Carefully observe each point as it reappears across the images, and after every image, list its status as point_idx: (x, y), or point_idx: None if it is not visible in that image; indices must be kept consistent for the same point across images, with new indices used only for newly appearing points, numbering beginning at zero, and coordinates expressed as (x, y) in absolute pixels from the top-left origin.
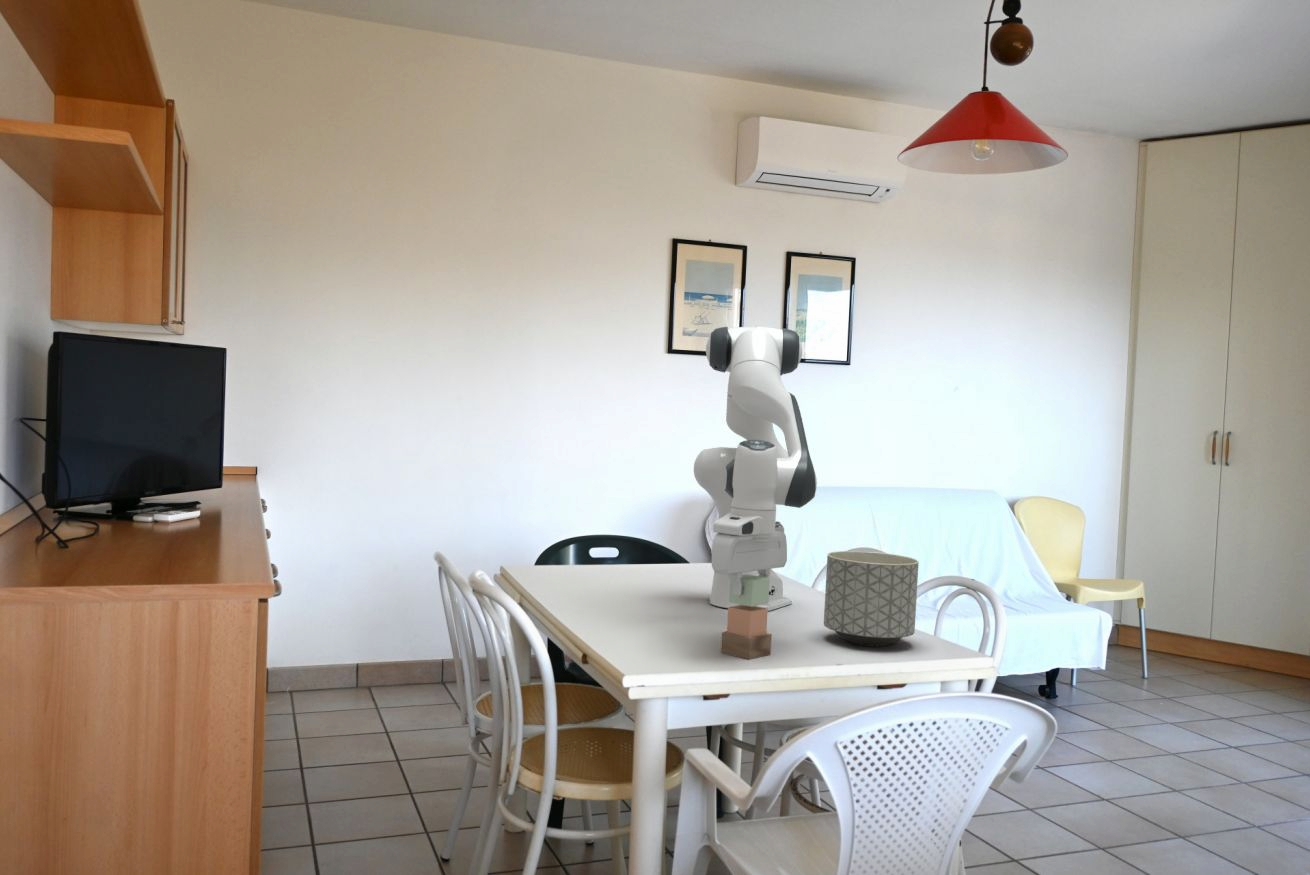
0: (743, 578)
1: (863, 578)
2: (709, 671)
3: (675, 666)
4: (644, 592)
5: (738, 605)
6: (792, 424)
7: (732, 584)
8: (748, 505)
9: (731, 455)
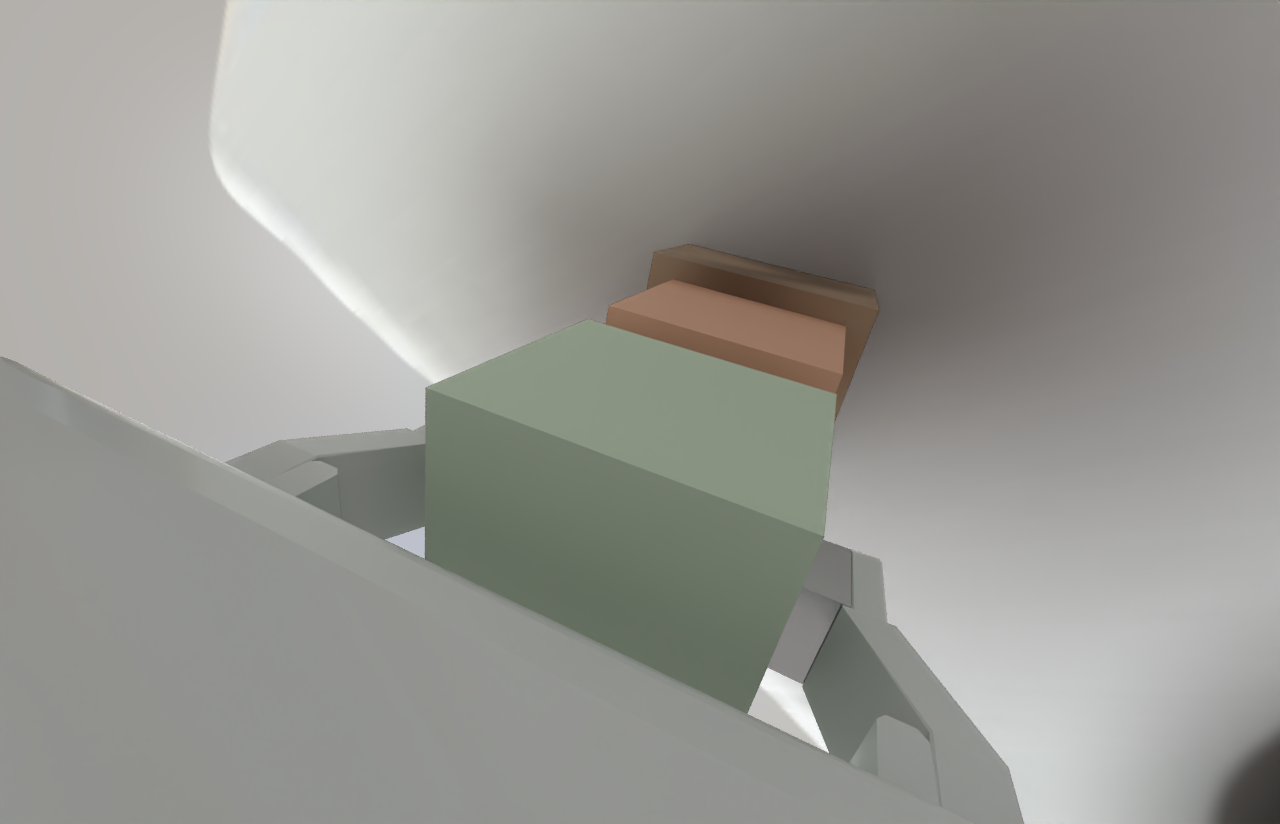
0: (454, 556)
1: None
2: (414, 344)
3: (374, 212)
4: None
5: (728, 347)
6: None
7: (397, 434)
8: None
9: None
